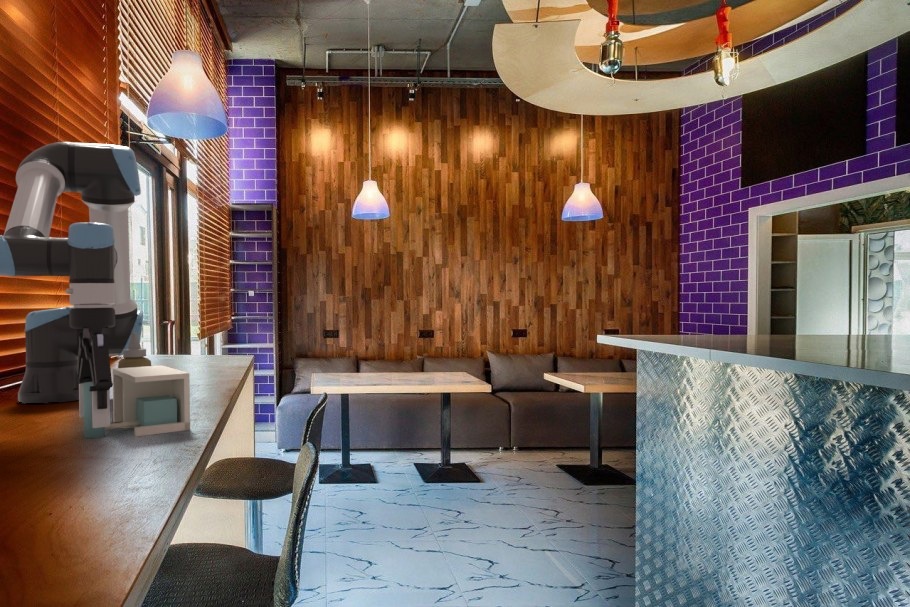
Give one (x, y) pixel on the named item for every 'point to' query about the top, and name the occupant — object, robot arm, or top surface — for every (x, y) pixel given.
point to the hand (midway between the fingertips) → (94, 421)
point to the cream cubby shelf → (150, 395)
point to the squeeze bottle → (134, 354)
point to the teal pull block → (147, 413)
